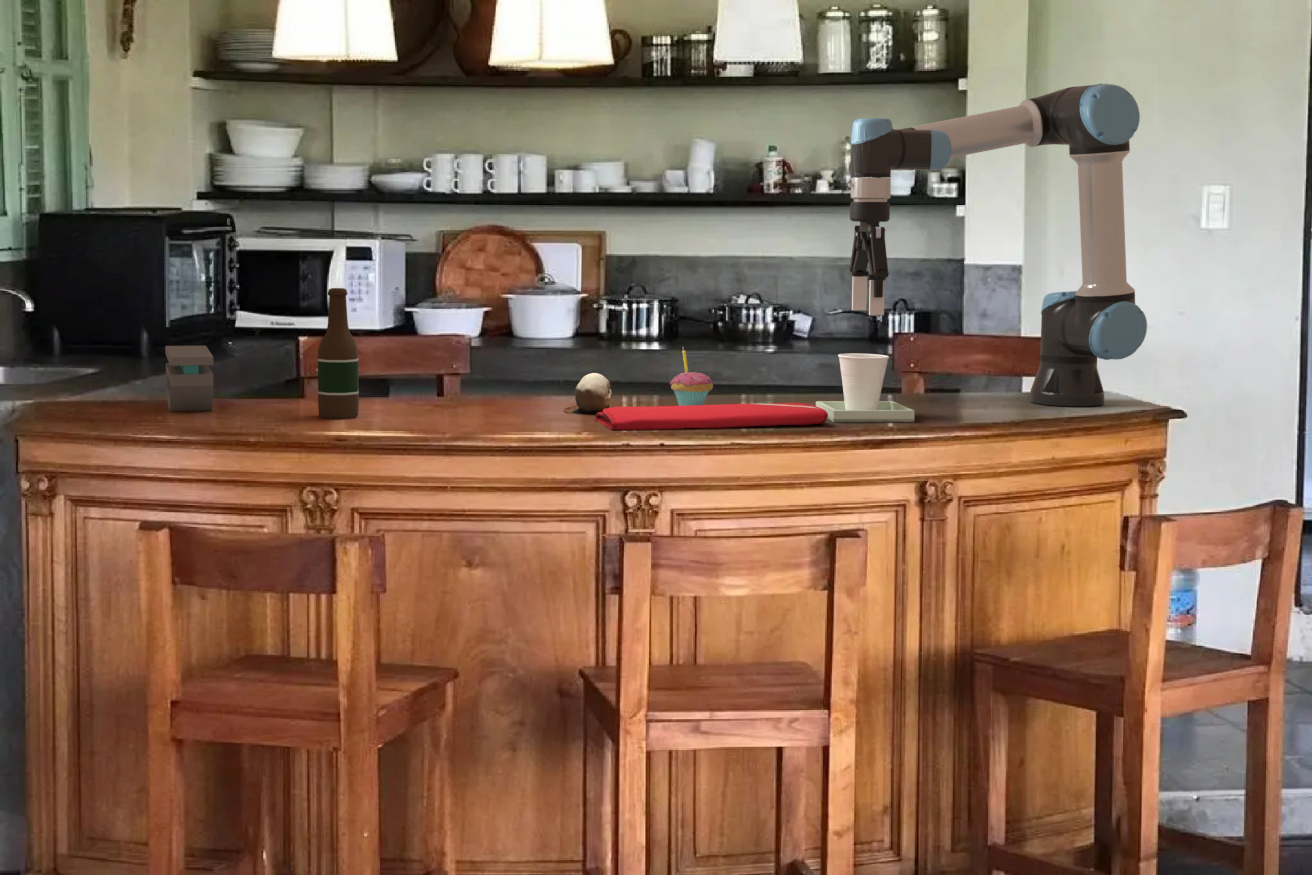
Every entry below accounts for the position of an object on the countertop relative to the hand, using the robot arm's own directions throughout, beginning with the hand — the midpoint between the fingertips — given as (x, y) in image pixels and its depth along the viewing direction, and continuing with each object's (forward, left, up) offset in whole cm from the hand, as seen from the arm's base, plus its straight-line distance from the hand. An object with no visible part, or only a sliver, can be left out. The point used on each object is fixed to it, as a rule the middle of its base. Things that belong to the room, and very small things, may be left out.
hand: (867, 312), depth 356 cm
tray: (0, 0, -20) cm, 20 cm away
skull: (+51, -10, -21) cm, 56 cm away
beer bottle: (+100, -3, -20) cm, 102 cm away
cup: (0, -3, -20) cm, 20 cm away
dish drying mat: (+31, +8, -21) cm, 39 cm away
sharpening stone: (+129, -19, -20) cm, 132 cm away
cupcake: (+31, -17, -20) cm, 41 cm away
